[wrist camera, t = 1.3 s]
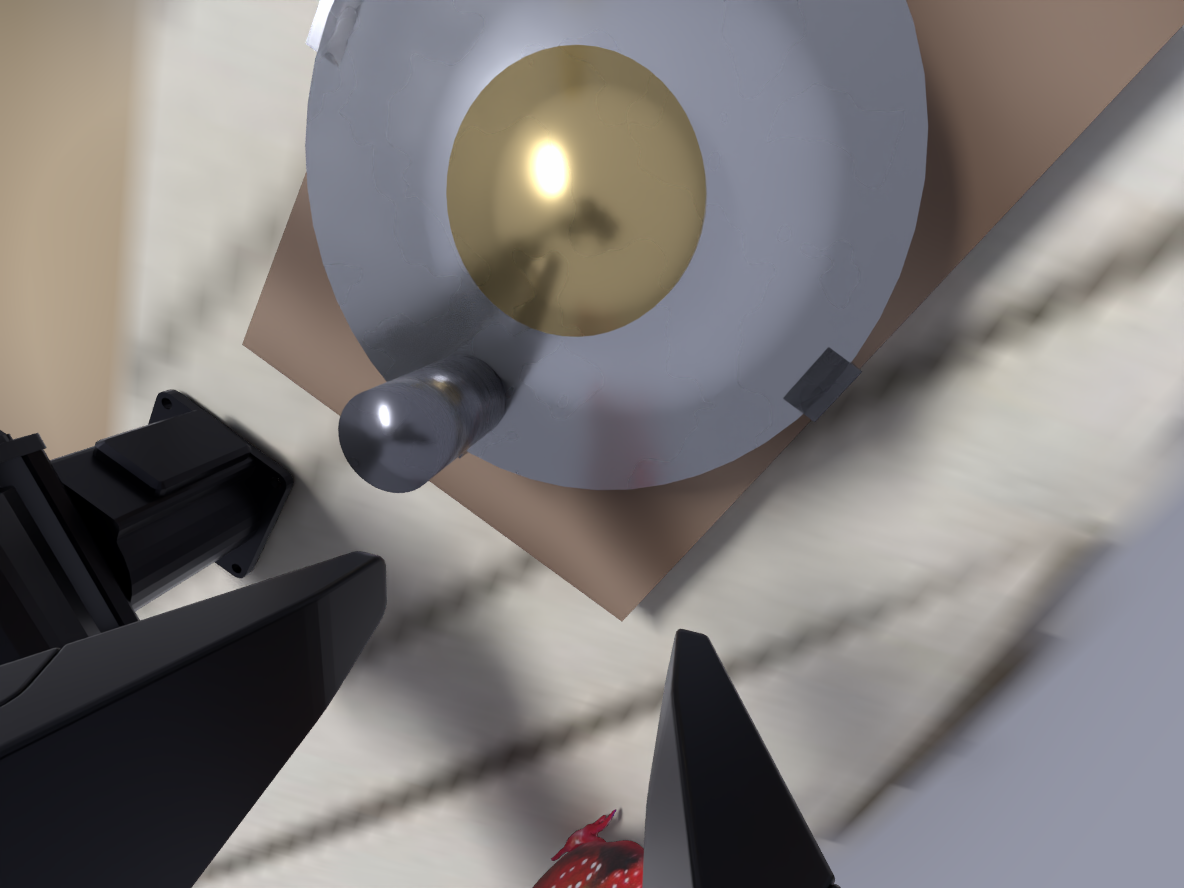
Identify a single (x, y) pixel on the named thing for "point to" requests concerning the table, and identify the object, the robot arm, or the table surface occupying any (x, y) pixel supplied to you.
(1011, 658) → the table surface
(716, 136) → the notched round platform
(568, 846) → the decorative bird figurine
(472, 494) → the base plate
